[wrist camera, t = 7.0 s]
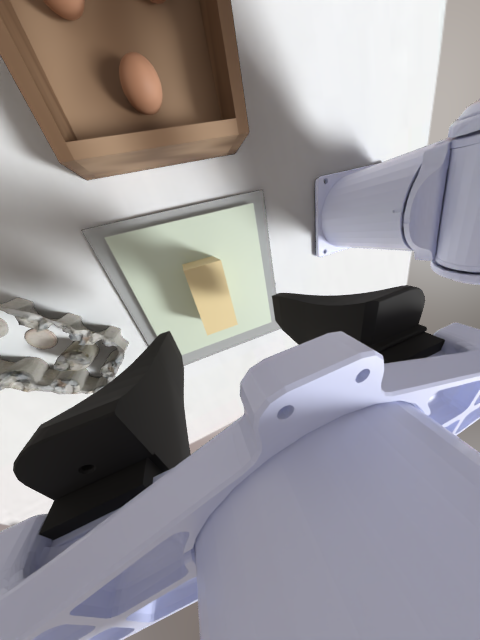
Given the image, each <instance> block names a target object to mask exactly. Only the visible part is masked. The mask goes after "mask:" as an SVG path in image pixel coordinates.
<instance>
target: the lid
mask: <svg viewBox="0 0 480 640" xmlns="http://www.w3.org/2000/svg"><path fill="white" fill-rule="evenodd" d="M104 238H105V240H106V242H107V244H108V245H109V247H110V249H111V251H112V253H113V255H114V257H115V259H116V260H117V262H118V264H119V266H120V268H121V270H122V272H123V273H124V275H125V277H126V279H127V281H128V283H129V285H130V287H131V288H132V290H133V292H134V294H135V296H136V298H137V300H138V301H139V303H140V305H141V307H142V309H143V311H144V313H145V315H146V316H147V318H148V320H149V322H150V324H151V326H152V328H153V329H154V331H155V333H156V335H157V336H158V335H159V334H161V333H164V332H167V331H170V332H171V334H172V336H173V338H174V340H175V342H176V344H177V346H178V348H179V350H180V353H181V355H184V354H187V353H189V352H192V351H195V350H197V349H200V348H203V347H206V346H208V345H211V344H214V343H216V342H219V341H222V340H224V339H227V338H230V337H233V336H235V335H238V334H241V333H243V332H246V331H249V330H251V329H254V328H257V327H260V326H262V325H265V324H268V323H270V322H271V315H270V309H269V302H268V295H267V289H266V282H265V276H264V269H263V263H262V256H261V250H260V243H259V237H258V230H257V224H256V217H255V211H254V204H253V203H251V204H246V205H242V206H238V207H233V208H229V209H225V210H221V211H216V212H212V213H208V214H203V215H199V216H195V217H190V218H186V219H182V220H178V221H173V222H169V223H165V224H160V225H156V226H152V227H147V228H143V229H139V230H135V231H130V232H126V233H122V234H117V235H113V236H109V237H104Z"/></svg>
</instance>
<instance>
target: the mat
mask: <svg viewBox="0 0 480 640" xmlns="http://www.w3.org/2000/svg"><path fill="white" fill-rule="evenodd" d="M251 203H253V204H254V211H255V217H256V224H257V230H258V237H259V243H260V250H261V256H262V263H263V269H264V276H265V282H266V289H267V295H268V302H269V309H270V315H271V322H270V323H268V324H265V325H262V326H260V327H257V328H254V329H251V330H249V331H246V332H243V333H241V334H238V335H235V336H233V337H230V338H227V339H224V340H222V341H219V342H216V343H214V344H211V345H208V346H206V347H203V348H200V349H197V350H195V351H192V352H189V353H187V354H184V355H182V359H183V366H185V365H187V364H190V363H193V362H195V361H198V360H200V359H203V358H206V357H208V356H211V355H213V354H216V353H219V352H221V351H224V350H226V349H229V348H232V347H234V346H237V345H239V344H242V343H245V342H247V341H250V340H253V339H255V338H258V337H260V336H263V335H266V334H268V333H271V332H273V331H276V330H279V329H281V327H280V326H279V325H278V324H277V322H276V321H275V315H274V308H273V301H272V296H273V295H276V288H275V280H274V272H273V265H272V257H271V249H270V241H269V234H268V226H267V218H266V211H265V203H264V195H263V190H258V191H254V192H249V193H245V194H240V195H236V196H231V197H227V198H222V199H218V200H213V201H209V202H204V203H200V204H195V205H191V206H186V207H182V208H177V209H173V210H169V211H164V212H160V213H155V214H151V215H146V216H142V217H137V218H133V219H128V220H124V221H119V222H115V223H110V224H106V225H101V226H97V227H92V228H88V229H83V230H82V232H83V234H84V236H85V237H86V239H87V241H88V242H89V244H90V246H91V248H92V249H93V251H94V253H95V254H96V256H97V258H98V260H99V261H100V263H101V265H102V266H103V268H104V270H105V272H106V273H107V275H108V277H109V278H110V280H111V282H112V283H113V285H114V287H115V289H116V290H117V292H118V294H119V295H120V297H121V299H122V301H123V302H124V304H125V306H126V307H127V309H128V311H129V313H130V314H131V316H132V318H133V319H134V321H135V323H136V325H137V326H138V328H139V330H140V331H141V333H142V335H143V336H144V338H145V340H146V342H147V343H148V345H150V344H151V343H152V342H153V341H154V339H155V338H156V337H157V335H156V333H155V331H154V329H153V328H152V326H151V324H150V322H149V320H148V318H147V316H146V315H145V313H144V311H143V309H142V307H141V305H140V303H139V301H138V300H137V298H136V296H135V294H134V292H133V290H132V288H131V287H130V285H129V283H128V281H127V279H126V277H125V275H124V273H123V272H122V270H121V268H120V266H119V264H118V262H117V260H116V259H115V257H114V255H113V253H112V251H111V249H110V247H109V245H108V244H107V242H106V240H105V238H104V237H109V236H113V235H117V234H122V233H126V232H130V231H135V230H139V229H143V228H147V227H152V226H156V225H160V224H165V223H169V222H173V221H178V220H182V219H186V218H190V217H195V216H199V215H203V214H208V213H212V212H216V211H221V210H225V209H229V208H233V207H238V206H242V205H246V204H251Z"/></svg>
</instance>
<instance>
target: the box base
mask: <svg viewBox="0 0 480 640" xmlns="http://www.w3.org/2000/svg"><path fill="white" fill-rule="evenodd" d="M0 55H1V57H2V59H3V60H4V62H5V64H6V66H7V68H8V70H9V71H10V73H11V75H12V77H13V79H14V81H15V82H16V84H17V86H18V88H19V90H20V92H21V93H22V95H23V97H24V99H25V101H26V102H27V104H28V106H29V108H30V110H31V112H32V113H33V115H34V117H35V119H36V121H37V123H38V124H39V126H40V128H41V130H42V132H43V133H44V135H45V137H46V139H47V141H48V143H49V144H50V146H51V148H52V150H53V152H54V154H55V155H56V157H57V159H58V161H59V163H61V164H62V165H64V166H65V167H67V168H68V169H70V170H72V171H73V172H75V173H76V174H78V175H79V176H81V177H83V178H84V179H86V180H92V179H97V178H103V177H109V176H114V175H120V174H125V173H131V172H137V171H142V170H148V169H153V168H159V167H165V166H170V165H176V164H181V163H187V162H192V161H198V160H204V159H209V158H215V157H220V156H226V155H232V154H235V153H236V152H237V150H238V149H239V147H240V146H241V144H242V143H243V141H244V140H245V138H246V137H247V135H248V134H249V127H248V120H247V112H246V105H245V98H244V91H243V84H242V77H241V70H240V63H239V56H238V49H237V42H236V35H235V28H234V21H233V13H232V6H231V0H0Z"/></svg>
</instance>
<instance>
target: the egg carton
mask: <svg viewBox="0 0 480 640" xmlns="http://www.w3.org/2000/svg"><path fill="white" fill-rule="evenodd" d="M0 310H1V311H4V312H6V313H8V314H12V315H14V316H15V317H16V319H17V321H18V323H19V325H24V326H26V327H29V328H33V329H31V330H28V331H27V332H26V334H25V339H26V341H27V343H28V344H30V345H31V346H33V347H36V348H40V349H48V348H52V347H54V346H55V345H56V344H57V341H58V339H57V337H56V335H55V334H54V333H53V332H51V331H49V330H47V329H48V328H49V327H50V326H51V325H53V324H54V325H56V326H57V327H58V328H62V327H63V326H66V327H67V328H65V329H64V328H62V329H63V332H66V333H69V334H70V335H69V337H70V340H72V341H75V342H73V343H72V344H71V345H70V346H69V347H68V348H67V349H66V350H65V351H64V352H63V353H62V354H61V355H60V356H59V357H58V358H57V360H56V362H55V364H54V369H49V365H48V364H47V363H46V362H45V361H44V360H42V359H40V358H37V357H26V358H23V359H21V360H19V361H18V362H16V363H15V362H9V361H5V360H3V359H1V356H0V390H2V389H4V388H13V389H18V390H22V391H25V392H31V391H35V390H36V391H47V392H54V393H57V394H78V393H85V394H87V393H92V392H93V394H94V393H96V392H97V391H99V390H100V389H101V388H103V387H104V386H105V385H107V384H108V383H109V382H111V381H112V380H113V379H114V378H115V375H116V373H117V371H118V368H119V366H120V365H121V363H122V361H123V359H124V353H125V350H126V348H127V346H128V344H129V342H128V341H126V340H125V339H124V338H123V337H122V336H121V329H120V328H117V327H114V326H109V327H108V328H107V329H106V330H104V331H101V332H95V331H91V330H89V329H87V328H86V327H85V326H84V325H83V323H82V321H81V316H78V315H74V314H71V313H68V314H66V315H65V316H63V317H62V318H60V319H48V318H45V317H43V316H41V315H40V314H39V313H37V312H36V310H35V308H34V302H31V301H29V300H25V299H22V298H15V299H13V300H11V301H9V302H6V303H3V304H1V305H0ZM8 330H9V329H8V325H7V323H6V322H5V321H4V320H3V319H1V318H0V338H1V337H3V336H5V335H6V334H7V333H8ZM99 340H102V341H103V343H102V344H105V346H107V347H110V346H116V348H117V350H115V351H113V352H112V353H111V354H110V355H109V357H108V358H107V360H106V362H105V364H104V365H103V366H102V368H101V370H100V372H101V373H102V374H103V375H102V376H101V377H100V378H95V377H91V376H89V372H88V371H87V369H86V368H87V367H88V366H89V365H90V364H91V363H92V361H93V360H94V358H95V357H96V355H97V354H98V353H99V347H98V345H97V344H96V342H97V341H99ZM94 361H95V360H94Z"/></svg>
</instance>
